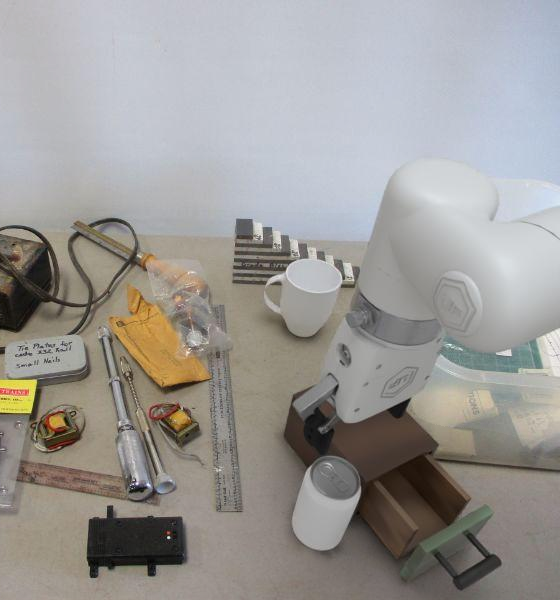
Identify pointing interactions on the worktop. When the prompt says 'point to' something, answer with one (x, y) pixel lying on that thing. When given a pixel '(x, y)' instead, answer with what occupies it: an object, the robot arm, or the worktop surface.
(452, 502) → the drawer
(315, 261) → the mug
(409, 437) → the cabinet
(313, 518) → the can
